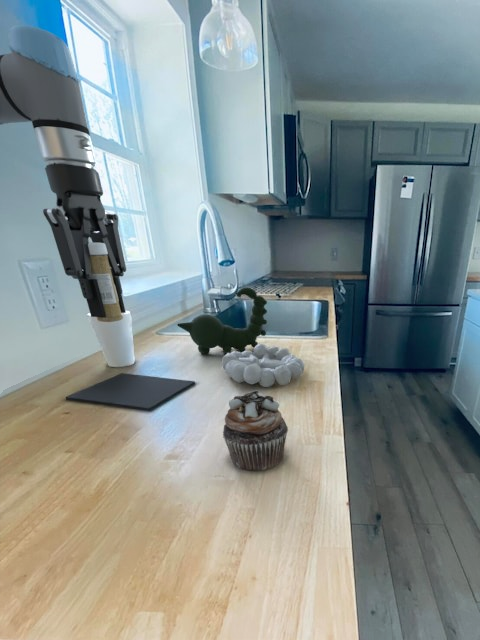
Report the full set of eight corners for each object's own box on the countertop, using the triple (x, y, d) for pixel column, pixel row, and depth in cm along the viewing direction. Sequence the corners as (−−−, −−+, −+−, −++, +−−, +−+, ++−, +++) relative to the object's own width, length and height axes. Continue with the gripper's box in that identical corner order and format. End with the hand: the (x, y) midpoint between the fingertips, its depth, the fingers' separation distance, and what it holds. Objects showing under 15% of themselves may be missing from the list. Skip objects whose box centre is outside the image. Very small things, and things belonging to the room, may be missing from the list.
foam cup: (93, 366, 95) (78, 314, 89) (121, 357, 102) (109, 308, 96) (122, 370, 92) (108, 317, 86) (148, 360, 100) (138, 311, 94)
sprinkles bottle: (125, 317, 73) (108, 242, 67) (120, 322, 69) (101, 242, 63) (100, 318, 72) (80, 242, 66) (93, 323, 68) (71, 242, 62)
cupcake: (212, 461, 55) (203, 400, 51) (256, 436, 63) (252, 381, 58) (259, 482, 51) (253, 417, 46) (301, 453, 58) (300, 394, 53)
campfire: (324, 373, 93) (324, 350, 90) (269, 398, 77) (268, 372, 75) (260, 358, 104) (258, 337, 101) (200, 378, 88) (197, 354, 85)
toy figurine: (259, 349, 118) (177, 350, 107) (260, 287, 110) (172, 281, 99) (269, 357, 111) (181, 359, 100) (271, 290, 103) (176, 284, 92)
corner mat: (66, 399, 75) (65, 396, 75) (122, 375, 89) (121, 373, 89) (149, 411, 71) (149, 408, 71) (195, 383, 85) (195, 381, 84)
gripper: (40, 154, 51) (88, 324, 62) (129, 174, 66) (155, 308, 77) (-1, 156, 53) (53, 321, 64) (94, 175, 68) (125, 306, 79)
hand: (108, 314), depth 70 cm, fingers closed on sprinkles bottle, 4 cm apart
